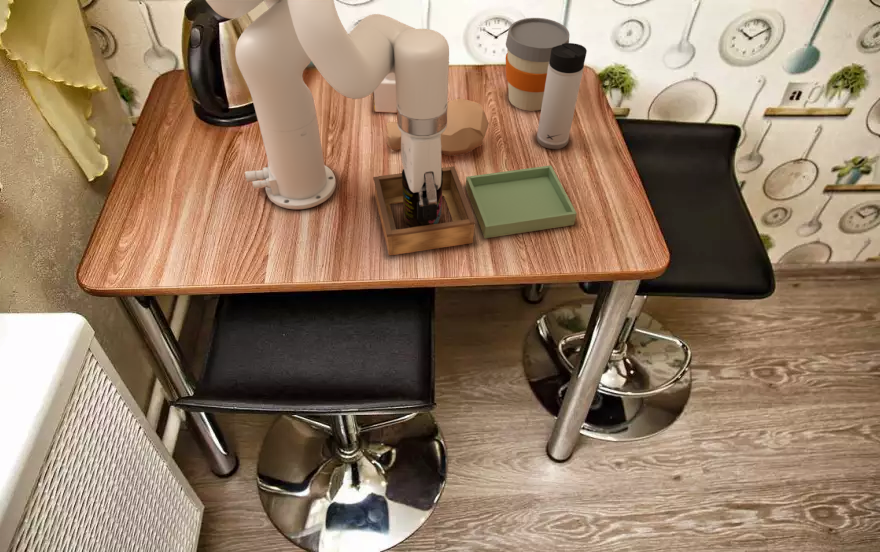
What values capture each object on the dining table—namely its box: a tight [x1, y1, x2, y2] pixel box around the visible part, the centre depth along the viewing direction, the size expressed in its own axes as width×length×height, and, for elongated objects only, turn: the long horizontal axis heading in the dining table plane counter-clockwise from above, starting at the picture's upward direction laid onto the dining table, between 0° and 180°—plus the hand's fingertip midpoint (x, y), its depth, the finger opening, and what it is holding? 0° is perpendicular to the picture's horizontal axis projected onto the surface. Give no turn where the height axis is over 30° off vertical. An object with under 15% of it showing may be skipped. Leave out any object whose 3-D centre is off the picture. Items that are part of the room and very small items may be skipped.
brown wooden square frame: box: [372, 166, 476, 256], centre depth 107 cm, size 15×15×5 cm
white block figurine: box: [372, 73, 397, 114], centre depth 127 cm, size 7×7×12 cm
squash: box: [385, 98, 490, 157], centre depth 120 cm, size 11×20×9 cm, turn 94°
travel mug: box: [536, 42, 588, 150], centre depth 117 cm, size 6×7×20 cm
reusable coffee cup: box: [505, 17, 570, 112], centre depth 128 cm, size 13×12×15 cm
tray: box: [465, 164, 578, 239], centre depth 111 cm, size 16×13×3 cm
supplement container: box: [401, 168, 443, 228], centre depth 105 cm, size 7×7×10 cm
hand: (422, 204), depth 106 cm, fingers closed on supplement container, 6 cm apart
